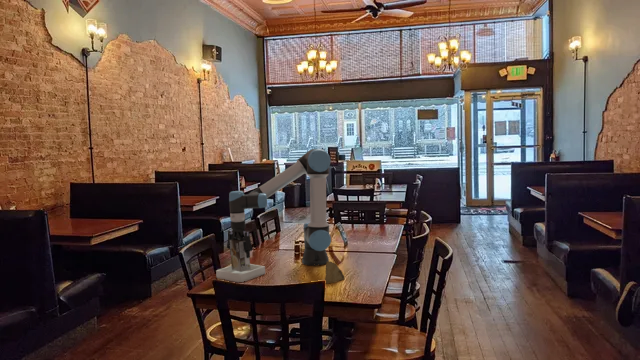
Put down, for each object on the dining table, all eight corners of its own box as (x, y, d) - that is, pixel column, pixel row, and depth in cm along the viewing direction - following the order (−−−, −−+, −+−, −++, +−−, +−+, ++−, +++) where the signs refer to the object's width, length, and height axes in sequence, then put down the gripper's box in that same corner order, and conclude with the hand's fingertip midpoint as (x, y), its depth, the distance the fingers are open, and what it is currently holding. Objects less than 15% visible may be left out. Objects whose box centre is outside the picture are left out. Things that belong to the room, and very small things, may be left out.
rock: (344, 272, 240) (324, 270, 240) (346, 261, 235) (326, 259, 235) (344, 290, 232) (323, 288, 232) (345, 279, 226) (325, 277, 226)
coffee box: (251, 269, 249) (249, 239, 248) (241, 272, 244) (239, 241, 243) (240, 266, 255) (239, 237, 254) (230, 269, 251) (228, 239, 250)
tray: (265, 273, 252) (264, 266, 252) (240, 282, 238) (240, 275, 237) (241, 269, 263) (241, 262, 262) (216, 277, 248) (216, 270, 248)
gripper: (218, 220, 251) (220, 262, 253) (247, 223, 238) (250, 267, 240) (228, 218, 257) (231, 258, 259) (258, 220, 244) (260, 263, 246)
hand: (240, 262), depth 250 cm, fingers closed on coffee box, 9 cm apart
